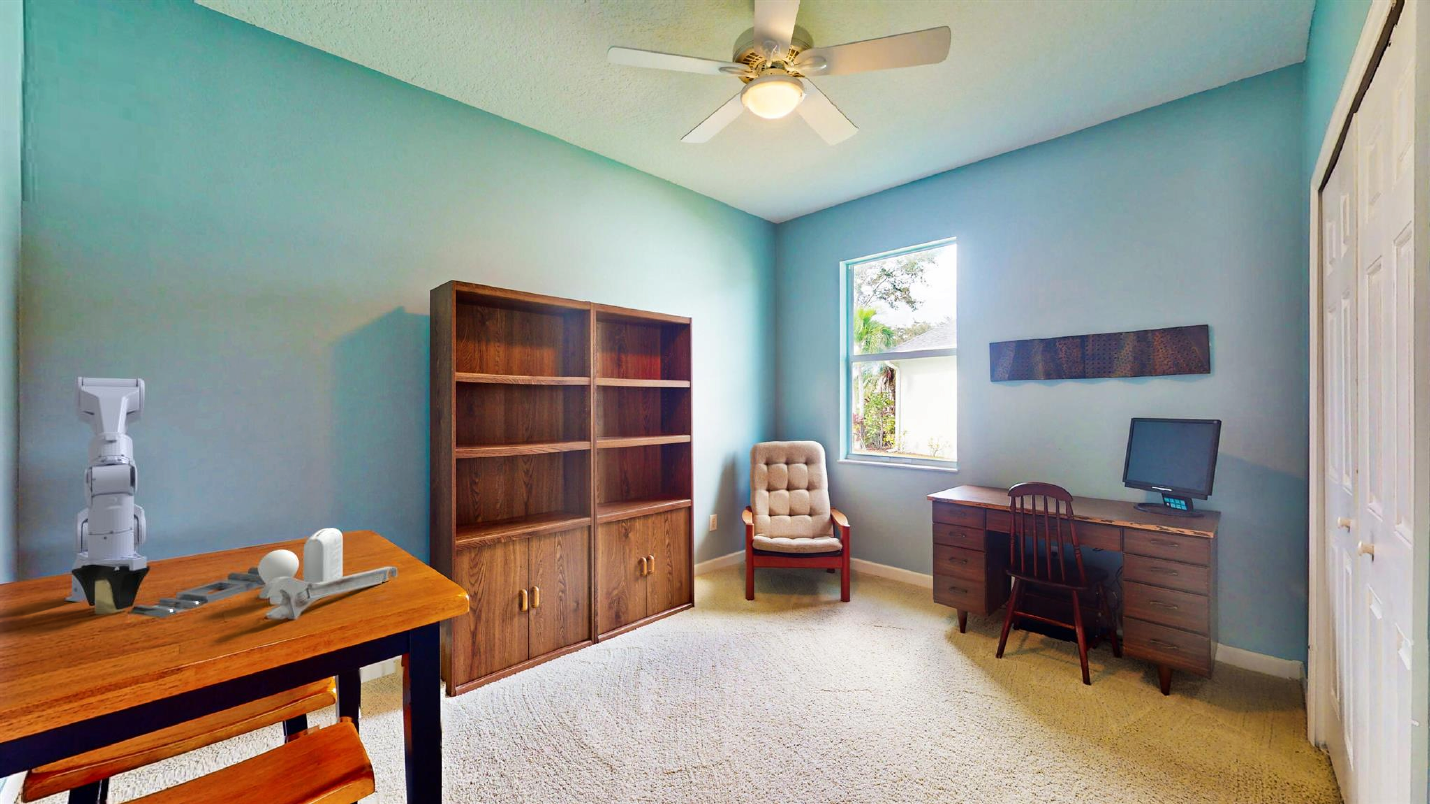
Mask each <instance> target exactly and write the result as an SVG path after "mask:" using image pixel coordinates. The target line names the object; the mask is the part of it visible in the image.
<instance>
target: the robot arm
mask: <svg viewBox="0 0 1430 804" xmlns="http://www.w3.org/2000/svg"><path fill="white" fill-rule="evenodd" d="M145 387H146V386H145V380H143V379H142V378H141V377H140V378H139V377H137V378H119V377H118V378H115V377H113V378H112V377H109V378H108V377H82V376H77V378H75V379H74V382H73V402H74V403H73V405H74V408H75V417H77V421H78V422H81V423H84V424H87V425H89V426H90V428H91V430H92V431H93V434H94V436H93V437H91V439H90V440H89V442H88V445H87V446H88V447H87V448H88V454H87V458H88V459H87V461H88V462H87V469H86V468H85V470H84V474H83V475H84V476H83V477H84V478H83V480H84V482H83V488H84V490H83V491H84V493H83V494H84V497H85V501H86V508H84V509H82V510H81V511H79V512H78V513H77V514H76V516H74V524H73V529H72V530H73V532H72V533H73V534H72V535H73V536H72V541H73V543H72V546H73V547H72V548H73V549H72V551H73V553H74V554H76V559H75V561H74V562H73V564H72V567H71V596H68V597H65V601H70V602H76V603H79V602H83V601H87V602H88V603H87V604H88V605H89V607H93V606H94V607H95V580H96V579H99V578H102V577H106V578H107V580H108V582H109V583H110V586H111V588H112V592H113V599H114V605H115V608H116V610H121V609H124V608H126V609H127V608H131V607H134V603H135V600H136V597H137V594H138V592H139V589H140V586H141V584H142V582H143V580H144V579H145V577H146V576H147V575H148V573H149V572H150V570H151V566H150V565H147V556H142V555H140V554H139V553H137V551H138V547H143V545H145V543H146V541H147V526H146V521H147V520H146V517H145V509H143V507H142V506H139V505H137V504H136V503H135V496H134V495H136V493H137V490H138V469H137V466H136V461H135V459H134V444H133V440H132V439H133V438H131V437H130V436H129V435H126V433H127V432H128V431H127V430H128V428H129V426H130V425H131V424H132V423H136V422H138V421H140V420H142V416H144V415H143V414H144V406H145V402H146V401H145V399H146V398H145V396H146V395H145V394H146V393H145V392H146V391H145V390H146V389H145ZM131 487H132V488H133V494H132V493H131ZM124 610H125V609H124ZM121 611H122V610H121Z"/></svg>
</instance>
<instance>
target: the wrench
mask: <svg viewBox="0 0 1430 804" xmlns="http://www.w3.org/2000/svg"><path fill="white" fill-rule="evenodd" d="M389 572H390V574H389ZM388 577H396V578H397V577H398V568H397V567H395V566H384V567H380V568H375V569H371V570H367V571H362V572H357V573H352V574H350V575H345V576H342V577H340V578H336V579H331V580H327V581H323V582H318V583H309V582H304V581H303V580H300V579H297V578H295V577H293V578H292V577H277V578H274V579H272V580H271V581H270V582H268V583H267V584H266V585H265V586H262V588H261V590H260V592H259V599H266V600H267V599H270V596H272V595H274V594H275V593H277V592H278V591H279V592H280V593H282V597H283V598H282V601H281V604H277V605H276V606H274V607H272V608H271V609H270V610H268V611H267V612H266V613H265V616H266V618H268V619H275V620H284V619H287V618H288V620H297V619H298V618H299V617H301V613H302V612H303V611H304V610H306V609H307V608H308V607H309V606H310V605H312V603H314V602H317V600H319V599H322V598H327V597H331V596H334V595H338V594H341V593H342V594H343V593H346V592H350V591H355V590H360V589H364V588H367V587H372V586H376V585H379V584H383V583H382V581H387V580H388V579H389V578H388Z"/></svg>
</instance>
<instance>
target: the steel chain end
mask: <svg viewBox="0 0 1430 804" xmlns="http://www.w3.org/2000/svg"><path fill="white" fill-rule="evenodd" d="M220 589H222V588H220ZM220 589H219V590H220ZM222 590H223V589H222ZM213 591H218V589H216V590H213ZM213 591H212V592H213ZM246 592H247V591H245V592H242V593H246ZM208 593H211V591H209V592H206V593H205V594H208ZM242 593H239V594H242ZM239 594H236V595H239ZM236 595H235V596H236ZM230 597H231V596H229V597H226V598H227V599H228V598H230ZM226 598H223V599H226ZM223 599H220V600H219V601H221V600H223ZM217 601H218V600H216V601H213V602H210V603H214V602H217ZM210 603H203V602H195V601H187V600H180V599H177V598H171V597H162V598H161V599H159V600H158V602H157V604H155V605H153V606H149V605H142V604H140V605H139V604H137V605H135V606H132V608H131V610H130V614H134V615H141V616H145V617H146V616H147V617H154V618H161V619H162V618H168V617H169V616H174V615H177V614H178V613H183V612H186V611H188V610H192V609H195V608H199V607H202V606H204V605H208V604H210Z"/></svg>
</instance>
